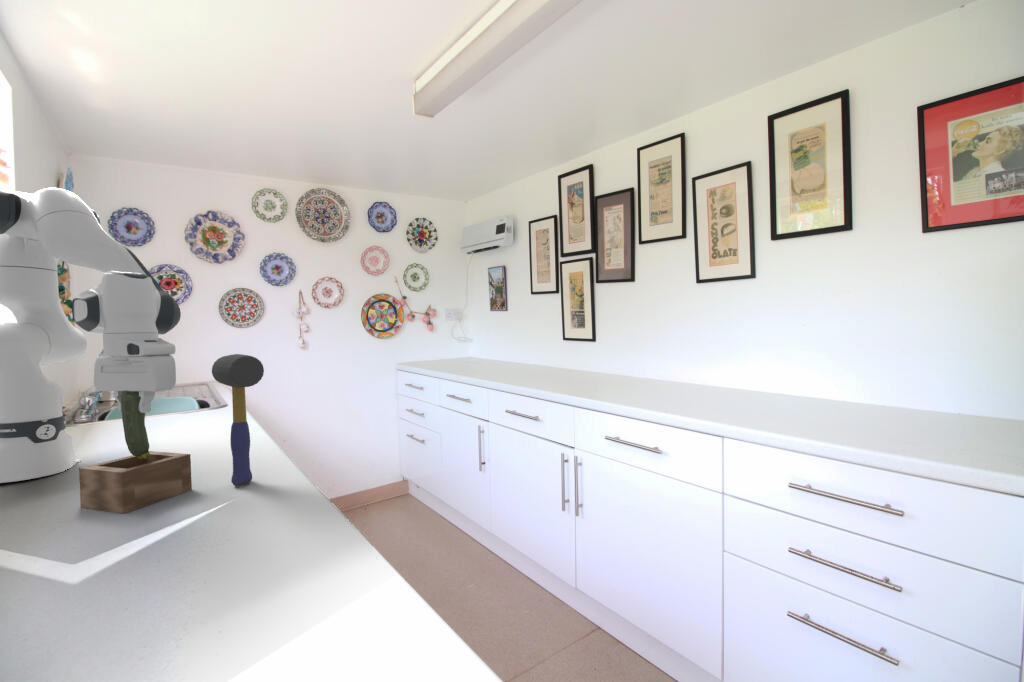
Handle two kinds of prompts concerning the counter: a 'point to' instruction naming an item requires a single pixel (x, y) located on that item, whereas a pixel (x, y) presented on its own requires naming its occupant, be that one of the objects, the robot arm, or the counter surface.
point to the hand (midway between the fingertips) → (135, 412)
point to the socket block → (134, 481)
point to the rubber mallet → (239, 407)
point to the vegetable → (134, 425)
